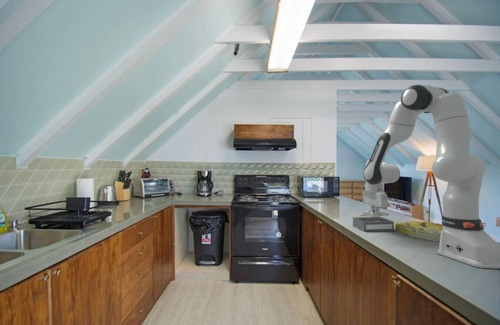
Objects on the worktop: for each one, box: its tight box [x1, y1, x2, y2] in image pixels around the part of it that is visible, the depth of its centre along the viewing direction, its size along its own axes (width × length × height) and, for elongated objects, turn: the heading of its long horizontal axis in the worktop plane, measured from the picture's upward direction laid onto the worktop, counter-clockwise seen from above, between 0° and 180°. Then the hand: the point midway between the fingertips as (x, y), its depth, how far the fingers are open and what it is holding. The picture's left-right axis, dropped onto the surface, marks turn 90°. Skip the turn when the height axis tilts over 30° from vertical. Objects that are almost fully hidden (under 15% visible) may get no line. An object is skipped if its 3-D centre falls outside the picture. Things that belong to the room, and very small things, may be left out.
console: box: [352, 216, 395, 233], centre depth 145 cm, size 14×16×5 cm
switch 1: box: [356, 211, 370, 217], centre depth 145 cm, size 8×4×2 cm, turn 2°
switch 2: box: [364, 210, 381, 217], centre depth 145 cm, size 8×4×2 cm, turn 2°
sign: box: [394, 221, 443, 242], centre depth 133 cm, size 28×3×30 cm
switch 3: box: [379, 211, 390, 217], centre depth 145 cm, size 8×4×2 cm, turn 2°
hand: (375, 213), depth 142 cm, fingers closed, pressing on switch 2
